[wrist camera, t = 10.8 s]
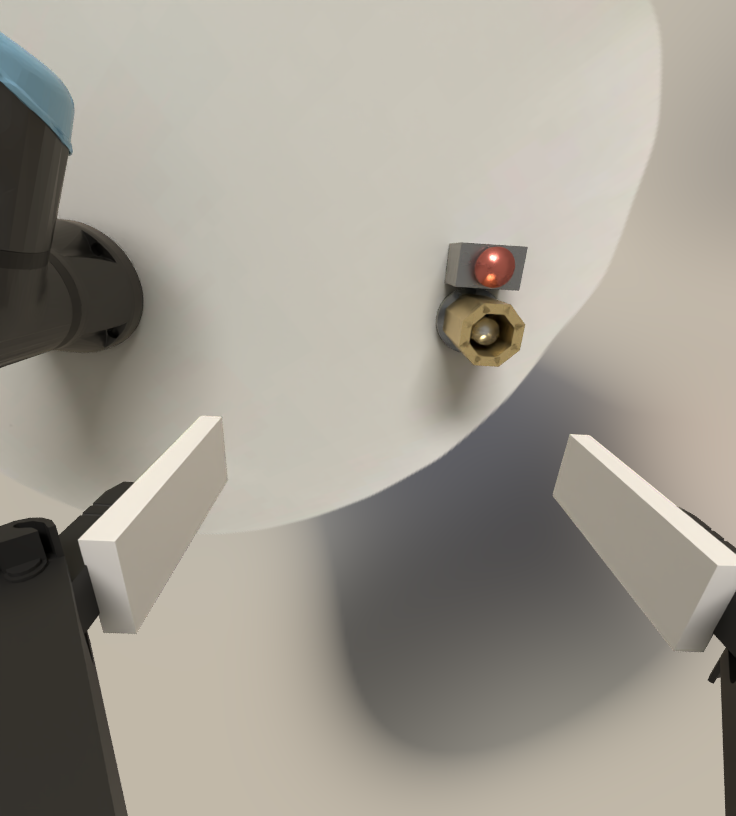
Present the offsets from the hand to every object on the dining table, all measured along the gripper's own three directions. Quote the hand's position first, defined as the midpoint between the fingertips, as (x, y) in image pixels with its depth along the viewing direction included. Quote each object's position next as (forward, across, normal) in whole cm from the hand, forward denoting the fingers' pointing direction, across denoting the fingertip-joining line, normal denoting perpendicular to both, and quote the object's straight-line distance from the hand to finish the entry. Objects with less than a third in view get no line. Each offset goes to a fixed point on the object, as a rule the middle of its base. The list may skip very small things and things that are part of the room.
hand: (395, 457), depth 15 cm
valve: (+37, +12, +2) cm, 39 cm away
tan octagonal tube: (+36, +12, 0) cm, 37 cm away
